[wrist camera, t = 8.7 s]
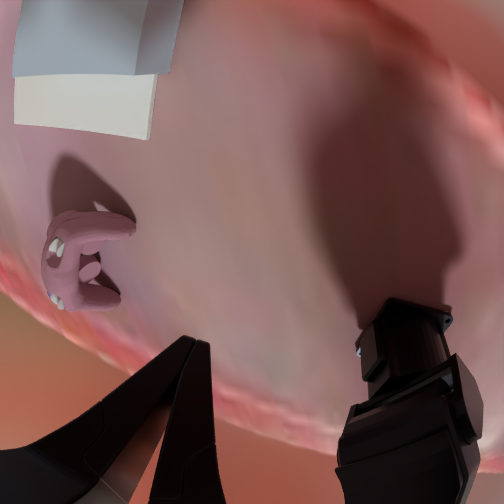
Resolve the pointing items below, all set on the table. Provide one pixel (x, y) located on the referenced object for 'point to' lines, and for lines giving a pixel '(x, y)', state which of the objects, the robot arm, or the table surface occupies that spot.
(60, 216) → the video game controller
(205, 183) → the table surface
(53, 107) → the mat
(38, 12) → the slab
